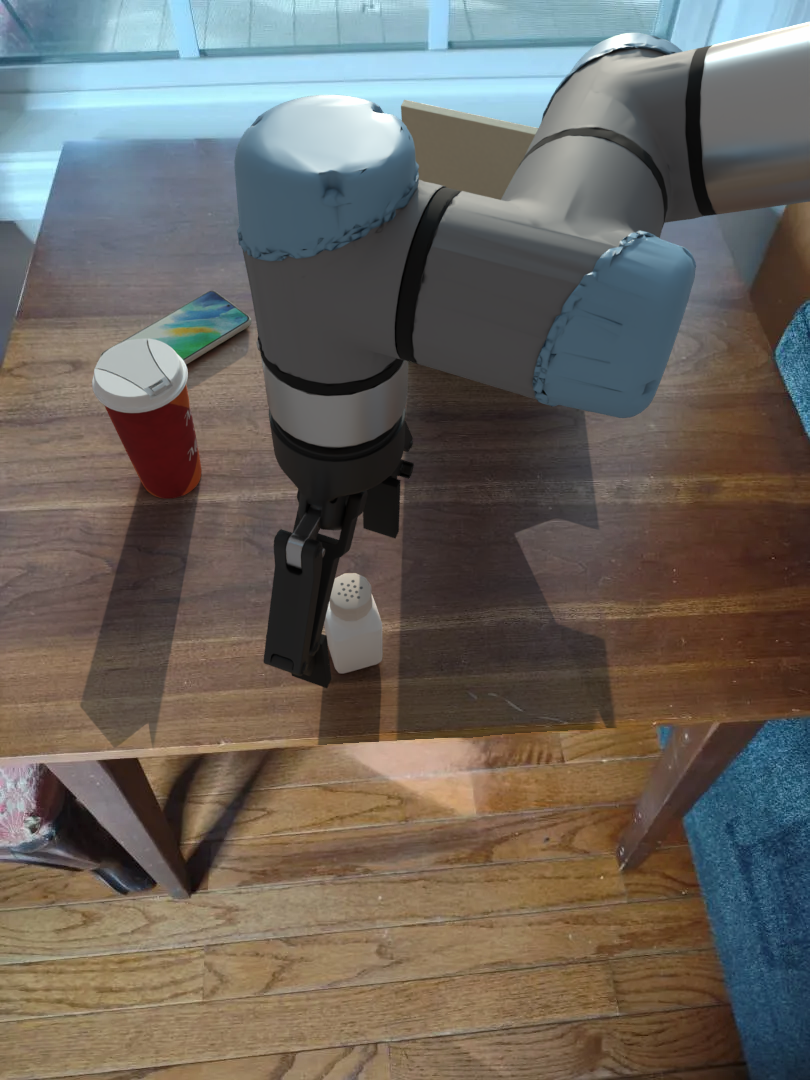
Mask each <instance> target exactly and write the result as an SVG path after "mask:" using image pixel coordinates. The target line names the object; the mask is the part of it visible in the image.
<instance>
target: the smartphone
mask: <svg viewBox="0 0 810 1080" xmlns="http://www.w3.org/2000/svg"><path fill="white" fill-rule="evenodd" d="M251 325H252V318H251V317H250V316H249V314H247V313H246V312H244V311H243V310H242V309H240V308H239V307H238V306H236V305H235V304H234V303H232V302H231V301H229V300H228V299H227V298H225V297H224V296H223V295H222V294H220V293H219V292H217V291H216V290H208V291H206V292H204V293H202V294H200V295H199V296H197V297H196V298H194V299H193V300H191V301H189V302H187V303H185V304H183V305H182V306H180V307H178V308H176V309H175V310H173V311H171V312H170V313H168V314H166V315H164V316H163V317H161V318H159V319H157V320H156V321H153V323H151V324H149V325H147V326H145V327H143V328H142V329H140V330H138V331H137V332H135V333H133V334H131V335H129V336H128V337H126V338H125V339H123V340H121V341H119V342H118V343H115V344H114V345H112V346H110V347H109V348H107V349H105V350H103V351H102V352H101V353H100V355H99V358H100V357H101V356H102V355H103V354H104V353H105V352H106V351H107V350H109V349H110V348H112V347H113V346H115V345H117V344H119V343H122V342H124V341H128V340H134V339H147V340H148V339H154V340H158V341H161V342H163V343H165V344H167V345H169V346H170V347H171V348H172V349H173V350H174V351H175V352H176V353H177V354H178V355H179V356H180V357H181V358H182V359H183V361H184V362H185V364H186V365H188V364H190V363H191V362H193V361H195V360H196V359H198V358H200V357H201V356H203V355H204V354H206V353H207V352H209V351H211V350H213V349H214V348H216V347H218V346H220V345H221V344H223V343H224V342H227V340H229V339H231V338H232V337H234V336H235V335H238V334H239V333H241V332H242V331H244V330H246V329H247V328H249V327H250V326H251Z"/></svg>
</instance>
